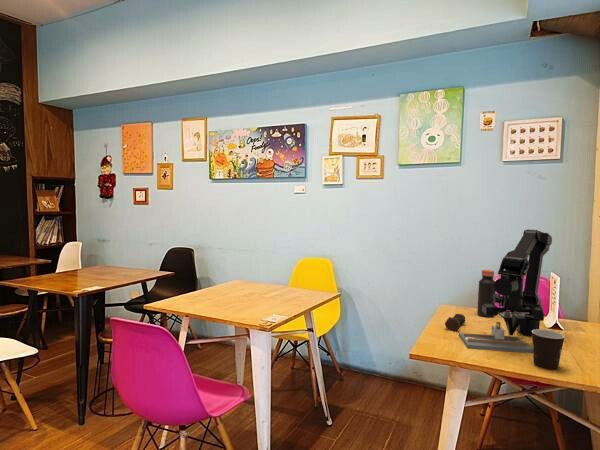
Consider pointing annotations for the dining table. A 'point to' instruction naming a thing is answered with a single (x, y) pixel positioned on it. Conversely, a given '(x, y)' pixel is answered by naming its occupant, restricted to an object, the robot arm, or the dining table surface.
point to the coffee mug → (547, 348)
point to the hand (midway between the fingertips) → (510, 335)
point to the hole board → (494, 343)
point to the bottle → (485, 291)
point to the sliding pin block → (497, 332)
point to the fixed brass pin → (521, 339)
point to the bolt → (455, 322)
